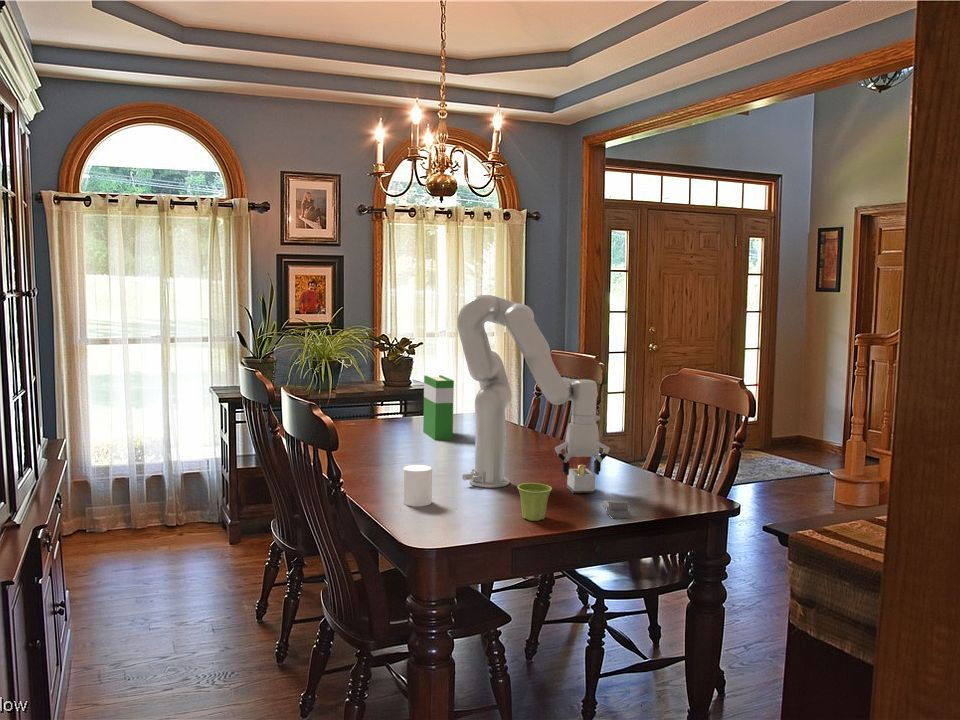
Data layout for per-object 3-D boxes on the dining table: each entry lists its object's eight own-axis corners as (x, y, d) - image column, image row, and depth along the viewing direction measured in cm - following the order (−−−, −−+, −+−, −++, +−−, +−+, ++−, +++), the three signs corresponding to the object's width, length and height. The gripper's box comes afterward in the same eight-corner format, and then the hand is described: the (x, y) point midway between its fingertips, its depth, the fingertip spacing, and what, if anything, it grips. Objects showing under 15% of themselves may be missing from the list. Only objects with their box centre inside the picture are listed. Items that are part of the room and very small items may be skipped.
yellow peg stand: (594, 493, 252) (595, 468, 251) (572, 493, 251) (573, 468, 250) (588, 487, 259) (589, 462, 258) (566, 488, 258) (567, 463, 257)
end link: (594, 490, 251) (595, 474, 250) (574, 491, 250) (574, 475, 249) (586, 484, 259) (587, 468, 259) (567, 484, 258) (567, 468, 258)
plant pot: (548, 513, 229) (549, 483, 228) (552, 523, 220) (553, 491, 219) (515, 512, 229) (516, 482, 228) (518, 522, 220) (518, 491, 219)
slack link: (620, 511, 233) (621, 506, 233) (608, 511, 232) (608, 506, 232) (614, 505, 239) (614, 500, 239) (602, 505, 238) (602, 500, 238)
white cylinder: (405, 471, 231) (399, 462, 242) (405, 507, 232) (399, 496, 243) (434, 470, 233) (427, 461, 244) (433, 506, 234) (426, 495, 245)
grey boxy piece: (629, 518, 226) (630, 504, 226) (612, 518, 226) (612, 504, 225) (623, 513, 231) (624, 499, 231) (606, 513, 231) (607, 499, 230)
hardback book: (423, 432, 344) (424, 375, 341) (440, 431, 346) (441, 375, 344) (434, 440, 327) (436, 380, 325) (452, 439, 330) (453, 380, 327)
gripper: (606, 417, 257) (604, 470, 259) (553, 417, 255) (551, 471, 256) (614, 421, 250) (611, 476, 252) (559, 422, 247) (557, 477, 249)
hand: (581, 474), depth 254 cm, fingers open, 9 cm apart
